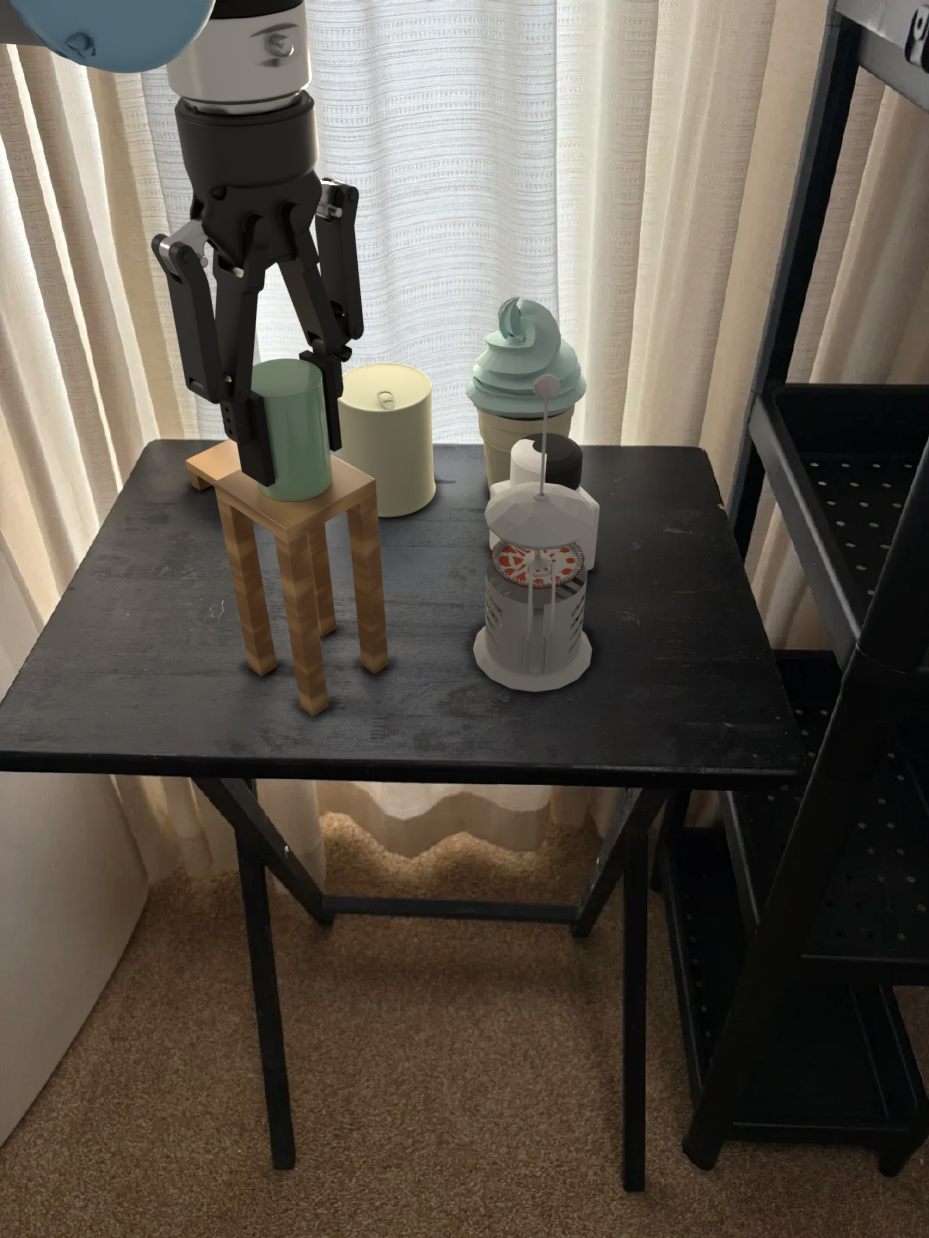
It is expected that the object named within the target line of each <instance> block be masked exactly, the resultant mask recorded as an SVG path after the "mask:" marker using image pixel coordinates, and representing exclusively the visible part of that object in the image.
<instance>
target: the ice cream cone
mask: <svg viewBox="0 0 929 1238" xmlns="http://www.w3.org/2000/svg"><path fill="white" fill-rule="evenodd" d="M519 299H520V296H514V297H511V298H509V299H507V300H506V301H504V302H503V303H502V304H501V305H500V306H499V309H498V312H497V318H498V327H499V328H498V329H499V330H497V331H493V332H491V333H488V334H487V335H485V337H484V341H485V343H486V344H487V348H486V349H485V350H484V351H483V352H482V353H481V354H480V355H479V356H478V357H477V358H476V359H475V365H474V366H473V368H472V370H471V371H472V374H473V376H472V379H470V381H469V382H468V383H467V385H466V387H465V395H466V396H467V398H468V399H469V400H470V401H471V402H472V404H473V407H475V408H476V413H477V417H478V418H477V421H478V429H479V434H480V437H481V439H482V441H483V442H482V443H483V450H484V458H485V466H486V467H485V468H486V475H487V483H488V491H489V492H490V490H491V486H492V485H493V484H496V483H499V482H503V481H506V480H510V469H511V450H512V448H513V446H514V445H515V444H516V443H517V442H518V441H519V440H520V439H522V438H524V437H526V436H528V435H532V434H536V433H543V423H544V404H545V398H542V397H539V396H537V395H535V394H534V392H533V383H534V381H535V379H537V378H538V377H539V376H540V375H544V374H548V373H550V374H551V375H553V376H554V377H556V378H557V379H559V380H560V383H561V392H560V394H559V395H558V396H556V397H553V398H548V413H547V431H546V433H555V434H560V435H563V436H566V437H568V438H570V437H569V436H570V432H571V429H572V428H571V426H572V419H573V416H574V414H575V409H576V403H578V402H579V401H581V399H582V398H583V397H584V395H585V394H586V392H587V388H588V386H587V385H588V384H587V381H586V378H585V377H584V375H583V374H582V366H581V364H580V361H579V359H578V355H577V353H576V350H575V348H574V347H573V346H572V345H571V344H570V343H569V342H567V341H566V340H565V339H563V338H562V333H561V331H560V330H561V329H560V328H559V324H558V320H556V318H555V317H554V316H553V314H552V312H551V310H549V309H548V308H547V307H545V306H544V305H543V304H541V303H538V302H536V301H534V300H529V299H525V298H524V299H522V300H520V302H519V305H520V306H519V307H518V306H517V304H518V301H519Z"/></svg>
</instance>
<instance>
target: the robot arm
mask: <svg viewBox="0 0 929 1238" xmlns="http://www.w3.org/2000/svg"><path fill="white" fill-rule="evenodd" d="M305 1H306V0H0V44H2V45H16V46H31V47H43V48H47V49H48V50H49V51H50V52H52V53H54V54H55V55H57V56H59V57H61V58H63V59H67V60H70V61H71V62H73V63H74V64H75V63H76V64H78V65H79V66H83V67H87V68H93V69H97V70H98V71H104V72H109V73H112V74H113V73H114V74H138V73H146V72H150V71H153V70H157V69H158V68H161V67H163V66H165V68H166V75H167V81H168V86H169V88H170V89H171V91H172V92H173V93H175V94H176V95H177V96H179V97H180V98H179V99H178V101H177V102H176V105H175V106H174V109H173V110H174V116H175V123H176V127H177V134H178V138H179V144H180V150H181V154H182V162H183V166H184V169H185V172H186V174H187V176H188V179H189V183H190V184H191V189H192V199H191V203H190V208H189V221H188V222H187V223H185V224H184V225H183V226H182V227H181V228H179V229H178V230H176V232H174V233H172V235H171V236H169V235H167V234H165V233H157V234H155V235H154V237H152V239H151V242H150V248H151V251H152V252H153V255H154V257H155V258H156V260H157V262H158V264H159V265H160V267H161V269H162V271H163V273H164V274H165V277H166V282H167V288H168V294H169V299H170V305H171V310H172V316H173V321H174V322H173V323H174V326H175V332H176V339H177V343H178V349H179V355H180V361H181V365H182V372H183V377H184V382H185V387H186V389H188V391H190V392H191V393H193V394H196V395H197V396H199V397H200V398H202V399H204V400H205V401H208V402H209V403H211V404H213V405H219V408H220V413H221V418H222V424H223V431H224V433H225V435H226V437H227V438H228V440H229V439H231V440H233V441H234V442H236V443H237V447H238V453H239V459H240V465H241V470H242V472H243V473H244V474H246V475H247V476H249V477H251V478H252V479H254V480H255V481H257V482H259V483H260V484H262V485H263V486H265V487H269V486H271V485H273V484H275V483H276V481H275V475H274V468H273V461H272V455H271V448H270V441H269V434H268V428H267V421H266V414H265V408H264V401H263V396H262V395H260V394H258V393H256V392H254V391H252V390H251V384H252V371H253V366H254V357H255V356H254V355H255V345H256V344H255V343H256V342H255V341H256V329H257V318H258V317H257V315H258V302H259V293H261V292H262V291H263V290H264V289H265V285H266V284H265V282H266V272H267V270H268V269H270V268H271V267H272V266H274V265H275V264H277V266H278V269H279V272H280V274H281V277H282V279H283V282H284V284H285V288H286V290H287V292H288V296H289V298H290V301H291V302H292V307H293V309H294V311H295V314H296V317H297V319H298V322H299V324H300V327H301V330H302V333H303V335H304V338H305V341H306V343H307V345H308V347H310V348H311V349H312V351H311V350H309V349H306V350H303V351H301V352H299V353H298V359H300V360H305V361H308V362H310V363H313V364H314V365H316V366H317V367H318V368H319V369H320V370H321V372H322V377H323V386H324V396H325V406H326V415H327V425H328V434H329V444H330V452H332V453H335V452H338V451H340V449H341V448H342V440H341V430H340V420H339V410H338V398H340V397H342V395H343V390H344V386H343V376H342V374H343V365H342V363H347V362H348V361H350V360H351V358H352V355H353V348H352V347H349V346H348V345H347V344H349V342H351V340H353V341H358V340H359V339H361V338H362V337H363V335H364V333H365V323H364V322H365V321H364V313H363V312H364V311H363V302H362V300H363V299H362V292H361V280H360V270H359V268H360V267H359V259H358V247H357V238H356V227H355V226H356V219H357V212H358V206H359V201H360V192H359V189H358V188H357V187H356V186H354V185H351V184H348V183H347V182H346V183H345V182H343V181H340V180H337V179H335V178H332V177H329V176H325V177H323V178H322V179H321V177H320V176H319V175H318V174H317V171H316V169H315V168H316V167H317V165H318V163H319V160H320V147H319V137H318V126H317V115H316V105H315V100H314V98H313V97H312V96H311V95H310V93H309V92H308V91H307V90H306V88H307V87H308V86H309V84H310V82H311V80H312V79H313V78H312V77H313V76H312V75H313V74H312V67H311V66H312V65H311V57H310V56H311V55H310V44H309V35H308V34H309V33H308V23H307V12H306V2H305ZM313 220H314V228H315V229H314V231H315V238H316V244H315V242H314V238H313V236H312V235H313V234H312V233H311V229H310V228H311V225H312V223H313ZM206 243H207V244H208V245H209V246H210V247H211V248H212V249H213V250H212V252H213V253H212V266H211V267H212V268H211V269H212V276H213V278H214V280H215V282H216V289H215V290H216V291H215V308H214V304H213V299H212V292H211V287H210V283H209V279H208V276H207V273H206V271H205V268H206V267H208V265H209V259H208V258H207V257H206V253H205V245H206ZM316 246H317V247H316ZM318 264H319V265H318ZM214 309H215V310H214Z"/></svg>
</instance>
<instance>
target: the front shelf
mask: <svg viewBox="0 0 929 1238" xmlns="http://www.w3.org/2000/svg"><path fill="white" fill-rule="evenodd" d="M331 463H332V473H333V480H332V483H331V485H330V487H329V488H328V489H327V490H326V491H325V492H323V493H322V494H320V495H318V496H316V497H314V498H311V499H307V500H303V501H294V502H287V501H279V500H275V499H272V498H270V497H268V496H266V495H265V494H263V493H262V492H261V490H260V489H259V487H258V482H257V481H255V480H254V479H252V478H251V477H249V476H247V475H246V474H244V473H243V472H242V470H241V469H239V470H237V471H235V472H233V473H231V474H229V475H227V476H225V477H223V478H221V479H219V480H217V481H215V482H214V486H213V487H214V490H215V491H214V492H215V495H216V502H217V506H218V511H219V518H220V522H221V527H222V531H223V532H222V533H223V538H224V543H225V547H226V553H227V558H228V563H229V569H230V573H231V578H232V584H233V588H234V594H235V600H236V604H237V609H238V613H239V614H238V616H239V620H240V625H241V630H242V631H241V632H242V635H243V642H244V645H245V651H246V656H247V661H248V667H249V669H251V670H252V671H254V672H255V673H256V674H258V675H259V676H260V677H264V676H265V675H267V674H268V673H270V672H271V671H273V670H275V668H276V669H277V659H276V653H275V652H276V651H275V647H274V641H273V636H272V635H273V634H272V629H271V623H270V618H269V612H268V606H267V605H268V604H267V600H266V599H267V598H266V594H265V588H264V582H263V576H262V569H261V565H260V559H259V552H258V547H257V541H256V536H255V535H256V534H255V530H254V528H255V527H254V525H253V524H254V523H253V521H254V522H255V523H257V524H259V526H261V527H263V528H265V529H266V530H268V531H269V532H271V533H272V534H273V537H274V543H275V550H276V556H277V564H278V569H279V577H280V582H281V589H282V596H283V602H284V608H285V614H286V615H285V616H286V621H287V622H286V623H287V628H288V629H287V630H288V634H289V642H290V648H291V655H292V661H293V667H294V672H295V679H296V680H295V681H296V686H297V693H298V699H299V705H300V708H301V709H303V710H304V711H305V712H307V713H308V714H309V715H310V716H312V717H315V716H318V714H320V713H321V712H323V711H325V710H326V709H327V708H328V707H329V706H330V705H329V696H328V690H327V682H326V681H327V680H326V674H325V666H324V657H323V652H322V651H323V650H322V643H321V638H324V637H325V636H326V635H327V636H328V635H329V634H330V633H331V632H333V631H334V630H336V629H337V621H336V610H335V602H334V594H333V585H332V576H331V575H332V574H331V568H330V567H331V566H330V560H329V559H330V558H329V549H328V540H327V532H326V523H327V522H329V521H330V520H332V519H334V518H335V517H337V516H339V515H341V514H343V513H344V512H346V514H347V525H348V536H349V547H350V557H351V566H352V568H351V569H352V580H353V588H354V589H353V590H354V599H355V610H356V611H355V612H356V621H357V631H358V642H359V651H360V652H359V653H360V664H361V666H362V667H364V668H365V669H367V670H368V671H369V672H371V673H372V674H374V675H375V674H377V673H379V672H380V671H381V670H382V669H385V668H386V667H387V666H388V665H389V651H388V649H389V648H388V637H387V622H386V607H385V596H384V594H385V593H384V580H383V568H382V567H383V566H382V565H383V564H382V553H381V537H380V522H379V517H378V508H377V494H376V493H377V492H376V480H375V479H374V478H372V477H370V476H369V475H367V474H365V473H363V472H362V471H360V470H358V469H356V468H355V467H353V466H351V465H349V464H347V463H346V462H344V461H342V460H341V458H340V457H337V456H335V455H334V454H332V453H331Z"/></svg>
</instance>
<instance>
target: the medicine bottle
mask: <svg viewBox="0 0 929 1238" xmlns="http://www.w3.org/2000/svg"><path fill="white" fill-rule="evenodd" d="M542 442H543V433H536V434H532V435H528V436H526V437H524V438H522V439H520V440H519V441H518V442H517V443H516V444H515V445H514V446H513V448H512V450H511V469H510V480H506V481H503V482H499V483H496V484H493V485H492V486H491V490H490V491H489V495H490V496H489V497H490V498H489V501H490V500H491V499H492V498H493V497H494V496H496V495H497V494H498V493H499V492H500V491H503V490H505V489H508V488H511V487H513V486H516V485H519V484H523V483H528V482H540V480H541V461H542ZM583 460H584V452H583V450H582V448H581V447H580V445H579V444H578V443H577V442H576V441H575V440H573V439H572V438H570V437H566V436H563V435H560V434H555V433H546V448H545V466H544V483H549V484H558V485H562V486H565V487H567V488H569V489H572V490H574V491H577V492H578V493H579V494H580V495H582V496H583V497H584V498H585V499H587V500H588V501H589V502H590V504H591V506H592V508H593V510H594V513H595V518H594V523H593V527H592V528H591V529H590V530H589V531H588V532H587V533H586V534H585V535H584V536H583V537H582V538H581V539H579V540H578V541H576V542H575V543H576V544H577V545H579V546H580V548H581V550H582V552H583V555H584V557H585V559H584V566H585V568H586V570H587V572H588V571H590V570H592V569H594V567H595V559H596V549H597V540H598V539H597V538H598V529H599V519H600V511H601V510H600V504H599V503H598V502H597V501H596V500H595V499H594V498H593V497H592V496H591V495H590V494H589V493H588V492H587V491H586V490H585V489H584V488H583V487H581V485H582V484H581V482H582V473H583V462H584V461H583ZM500 540H501V539H500V538H499V537H498V536H497V535H496V534H495V533H493V532H492V531H491V530H490V529H489V548H490V550H491V551H492V550H493V547H494V546H495V545H496V544H497V543H498V542H499V541H500Z"/></svg>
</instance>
